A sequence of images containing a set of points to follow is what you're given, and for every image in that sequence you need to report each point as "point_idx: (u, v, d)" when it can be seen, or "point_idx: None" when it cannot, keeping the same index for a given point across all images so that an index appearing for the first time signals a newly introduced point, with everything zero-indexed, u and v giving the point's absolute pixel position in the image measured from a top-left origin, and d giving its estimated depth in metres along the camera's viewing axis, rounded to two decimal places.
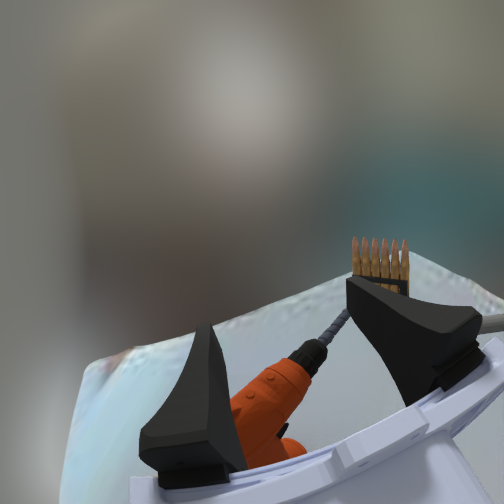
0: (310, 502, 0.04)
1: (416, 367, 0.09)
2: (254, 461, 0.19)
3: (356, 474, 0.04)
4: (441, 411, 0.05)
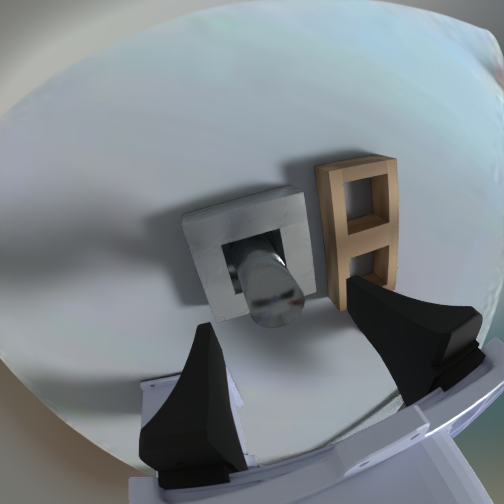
0: (310, 502, 0.04)
1: (416, 367, 0.09)
2: None
3: (356, 474, 0.04)
4: (441, 411, 0.05)
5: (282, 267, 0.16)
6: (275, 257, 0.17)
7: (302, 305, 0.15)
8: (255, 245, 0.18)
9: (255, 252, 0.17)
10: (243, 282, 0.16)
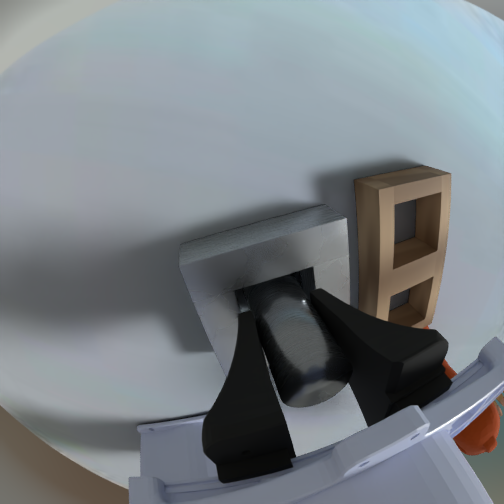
0: (310, 502, 0.04)
1: (372, 390, 0.08)
2: None
3: (356, 474, 0.04)
4: (441, 411, 0.05)
5: (323, 329, 0.11)
6: (310, 311, 0.12)
7: (348, 379, 0.10)
8: (281, 291, 0.13)
9: (282, 303, 0.12)
10: (268, 348, 0.11)
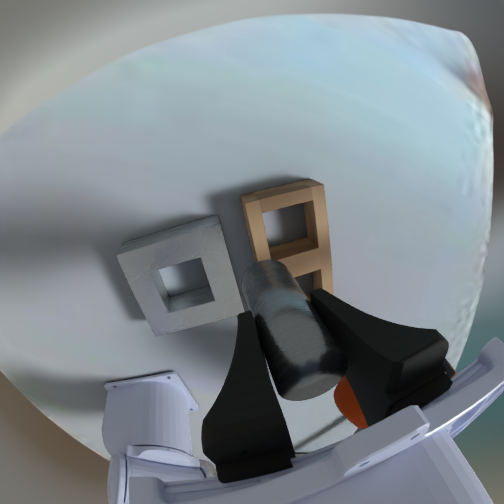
0: (310, 502, 0.04)
1: (373, 390, 0.08)
2: None
3: (356, 474, 0.04)
4: (441, 411, 0.05)
5: (320, 324, 0.11)
6: (308, 306, 0.12)
7: (343, 374, 0.10)
8: (279, 286, 0.13)
9: (281, 297, 0.12)
10: (265, 341, 0.11)
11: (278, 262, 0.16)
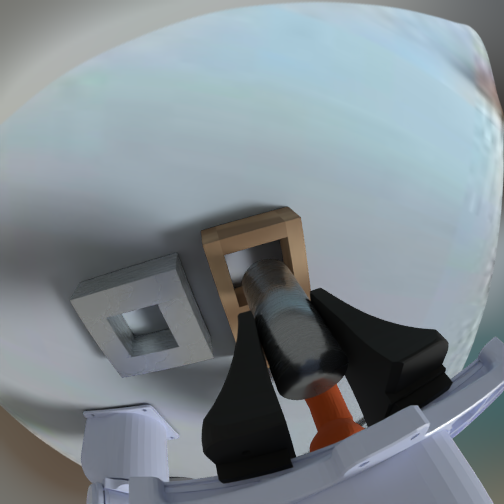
0: (310, 502, 0.04)
1: (372, 390, 0.08)
2: (313, 419, 0.19)
3: (356, 474, 0.04)
4: (441, 411, 0.05)
5: (320, 323, 0.11)
6: (309, 305, 0.12)
7: (343, 373, 0.10)
8: (280, 285, 0.13)
9: (282, 296, 0.12)
10: (266, 340, 0.11)
11: (279, 261, 0.16)
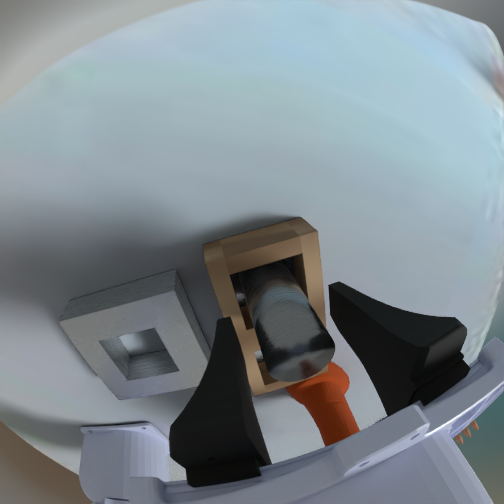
0: (310, 502, 0.04)
1: (396, 379, 0.08)
2: (324, 441, 0.17)
3: (356, 474, 0.04)
4: (441, 411, 0.05)
5: (309, 308, 0.12)
6: (299, 293, 0.13)
7: (330, 357, 0.11)
8: (273, 274, 0.14)
9: (274, 284, 0.13)
10: (258, 324, 0.12)
11: None
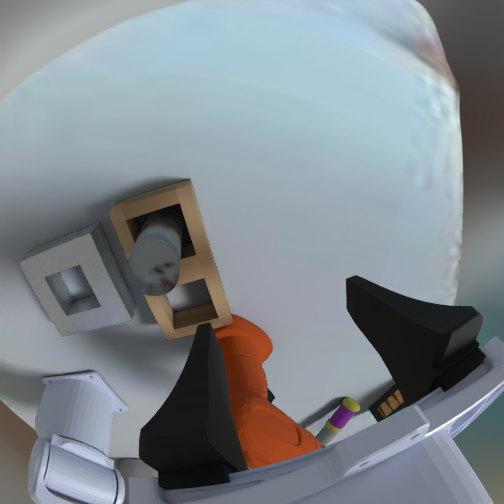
0: (310, 502, 0.04)
1: (416, 367, 0.09)
2: None
3: (356, 474, 0.04)
4: (441, 411, 0.05)
5: (165, 237, 0.15)
6: (166, 229, 0.16)
7: (177, 275, 0.15)
8: (155, 219, 0.18)
9: (151, 224, 0.17)
10: None
11: (169, 209, 0.20)
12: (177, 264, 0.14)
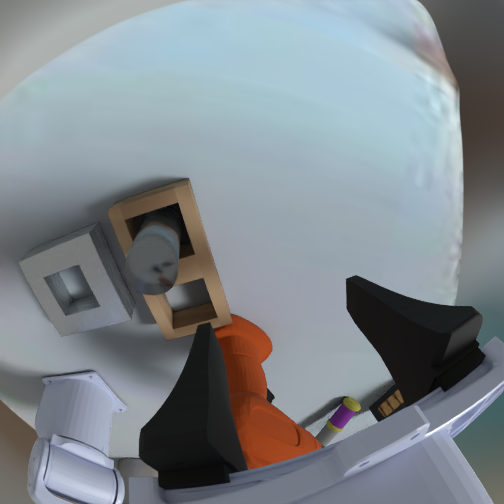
0: (310, 502, 0.04)
1: (416, 367, 0.09)
2: None
3: (356, 474, 0.04)
4: (441, 411, 0.05)
5: (163, 236, 0.15)
6: (165, 228, 0.16)
7: (176, 274, 0.14)
8: (154, 218, 0.18)
9: (149, 223, 0.17)
10: None
11: (168, 208, 0.20)
12: (175, 263, 0.14)
